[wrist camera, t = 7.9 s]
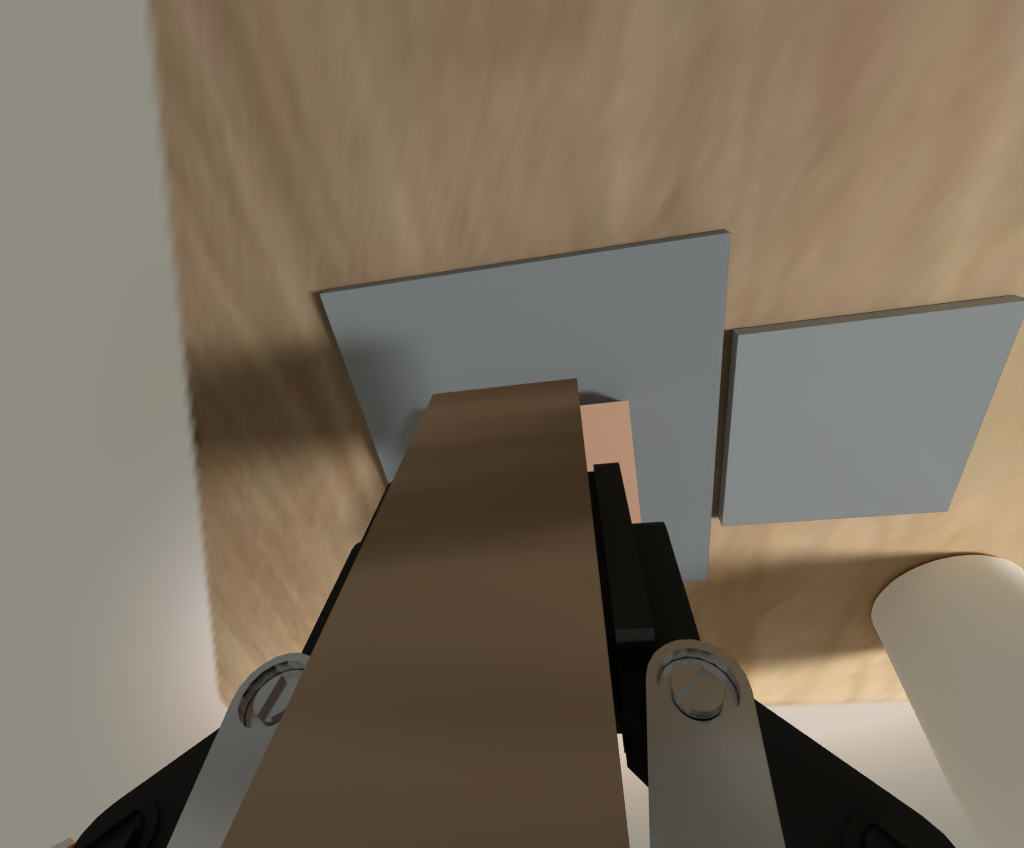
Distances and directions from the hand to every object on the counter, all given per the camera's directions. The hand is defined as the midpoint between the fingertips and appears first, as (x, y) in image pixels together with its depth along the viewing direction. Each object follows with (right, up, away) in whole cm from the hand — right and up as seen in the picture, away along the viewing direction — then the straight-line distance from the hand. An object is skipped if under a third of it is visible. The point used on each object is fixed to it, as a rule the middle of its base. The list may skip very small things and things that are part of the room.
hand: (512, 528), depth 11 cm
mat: (+1, +1, +10) cm, 10 cm away
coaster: (+13, +2, +8) cm, 16 cm away
